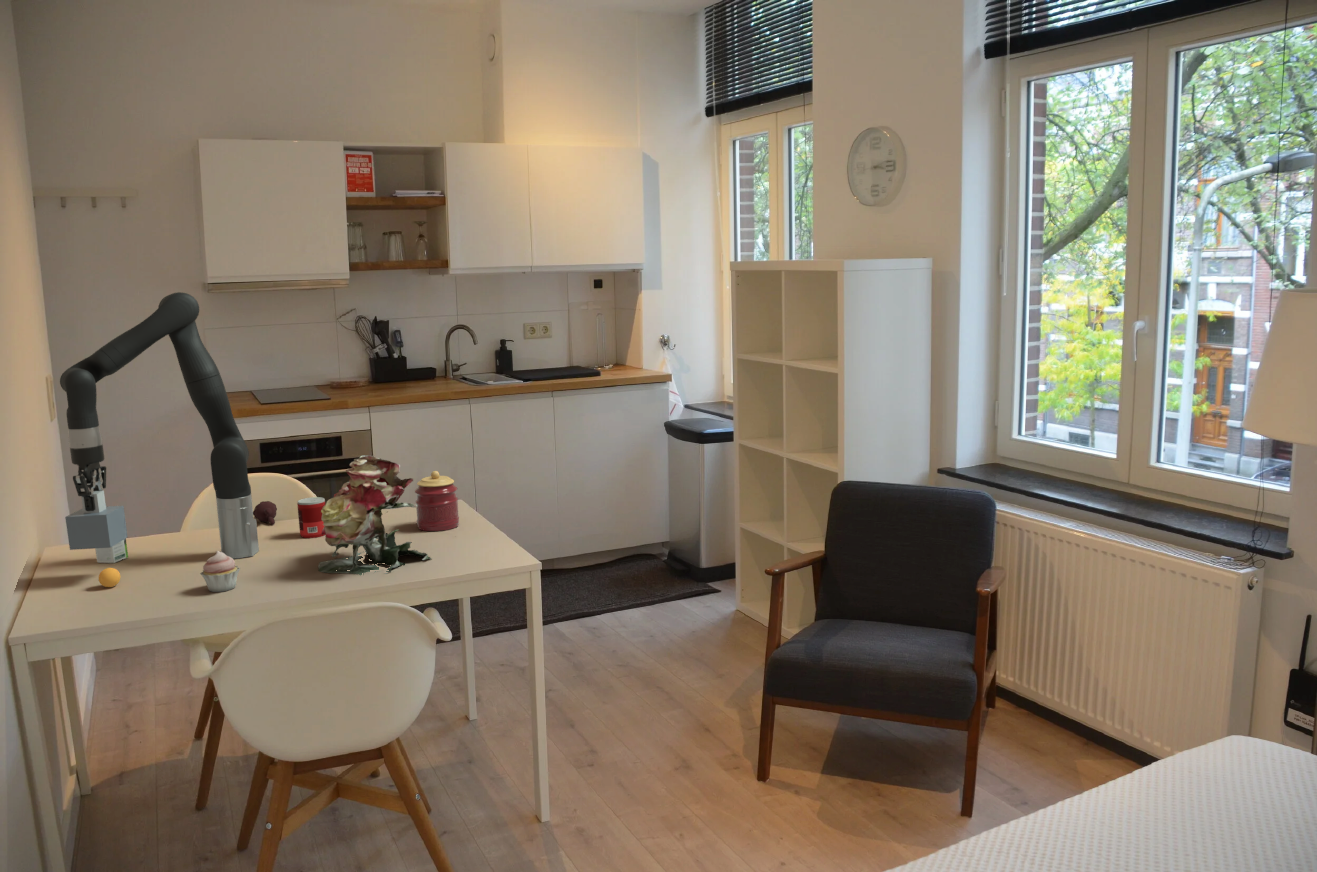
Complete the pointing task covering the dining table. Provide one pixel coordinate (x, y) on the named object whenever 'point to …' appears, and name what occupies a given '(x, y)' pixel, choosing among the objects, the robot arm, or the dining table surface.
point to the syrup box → (112, 553)
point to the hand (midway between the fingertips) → (94, 508)
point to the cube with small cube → (96, 525)
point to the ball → (109, 577)
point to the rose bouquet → (365, 517)
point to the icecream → (265, 512)
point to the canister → (436, 503)
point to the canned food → (311, 517)
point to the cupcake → (220, 573)
